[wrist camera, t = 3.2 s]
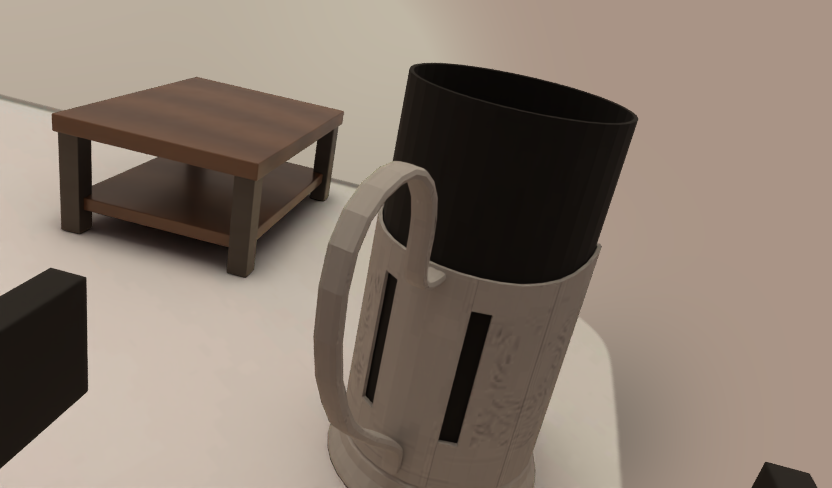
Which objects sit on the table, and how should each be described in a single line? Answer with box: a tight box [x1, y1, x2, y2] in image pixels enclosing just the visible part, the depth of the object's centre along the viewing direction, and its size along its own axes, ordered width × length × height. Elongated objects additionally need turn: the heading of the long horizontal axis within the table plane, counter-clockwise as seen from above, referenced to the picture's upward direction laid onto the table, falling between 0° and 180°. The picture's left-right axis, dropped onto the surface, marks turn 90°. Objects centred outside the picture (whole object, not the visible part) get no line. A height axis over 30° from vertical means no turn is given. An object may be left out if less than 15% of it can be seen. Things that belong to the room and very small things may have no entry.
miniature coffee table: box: [52, 77, 344, 277], centre depth 43 cm, size 16×12×7 cm
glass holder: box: [314, 63, 638, 488], centre depth 21 cm, size 9×14×15 cm, turn 151°
